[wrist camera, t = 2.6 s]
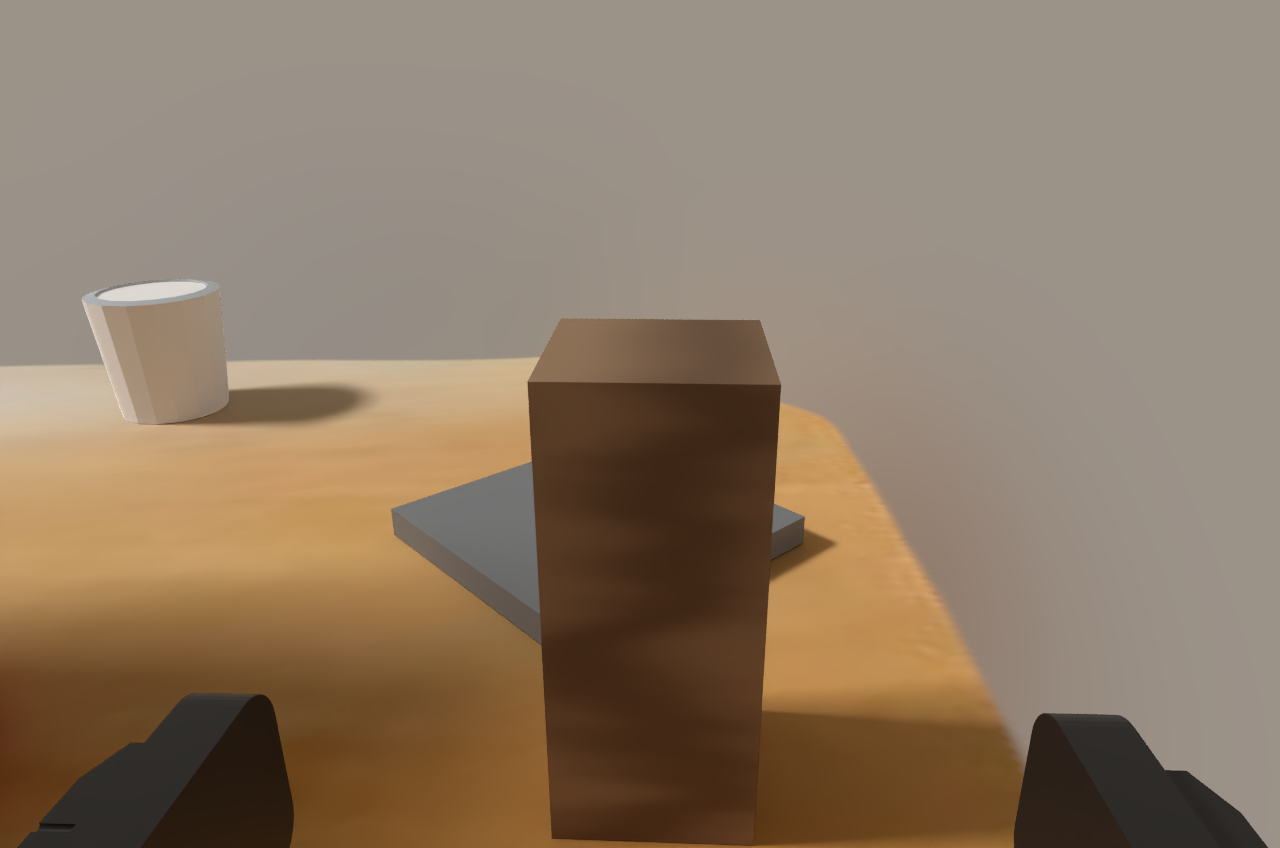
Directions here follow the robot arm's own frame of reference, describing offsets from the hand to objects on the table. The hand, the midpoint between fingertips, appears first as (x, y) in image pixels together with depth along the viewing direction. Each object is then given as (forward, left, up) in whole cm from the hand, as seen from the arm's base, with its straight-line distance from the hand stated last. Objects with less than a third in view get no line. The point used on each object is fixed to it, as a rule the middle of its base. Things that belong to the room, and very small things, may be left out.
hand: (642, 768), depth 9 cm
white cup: (-48, +7, -11) cm, 50 cm away
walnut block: (-8, +8, -11) cm, 16 cm away
